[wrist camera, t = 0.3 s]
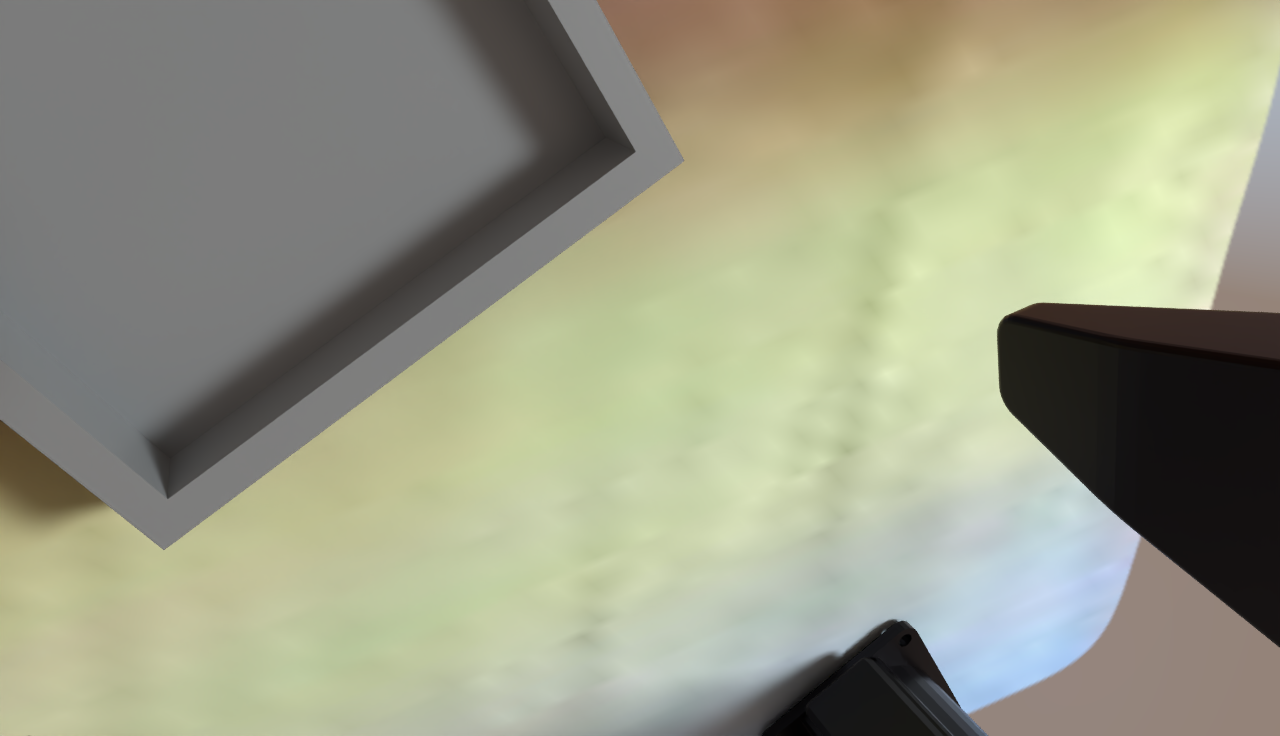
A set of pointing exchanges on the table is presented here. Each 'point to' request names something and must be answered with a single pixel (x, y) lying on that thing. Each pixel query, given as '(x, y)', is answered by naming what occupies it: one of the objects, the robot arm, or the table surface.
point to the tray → (279, 214)
